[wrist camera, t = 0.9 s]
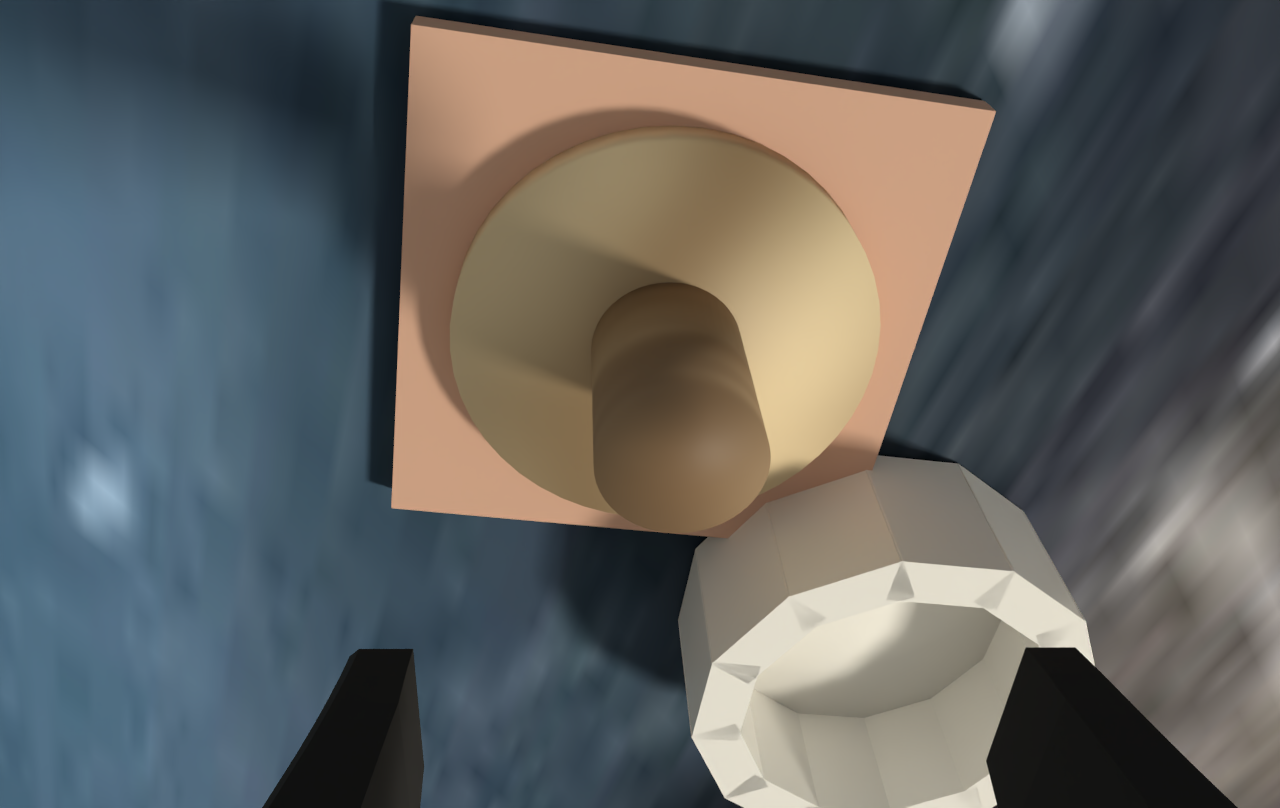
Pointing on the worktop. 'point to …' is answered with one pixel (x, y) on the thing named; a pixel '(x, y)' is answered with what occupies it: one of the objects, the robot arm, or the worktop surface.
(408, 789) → the robot arm
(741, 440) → the bamboo lid
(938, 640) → the bowl
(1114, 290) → the worktop surface
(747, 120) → the mat
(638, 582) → the worktop surface
